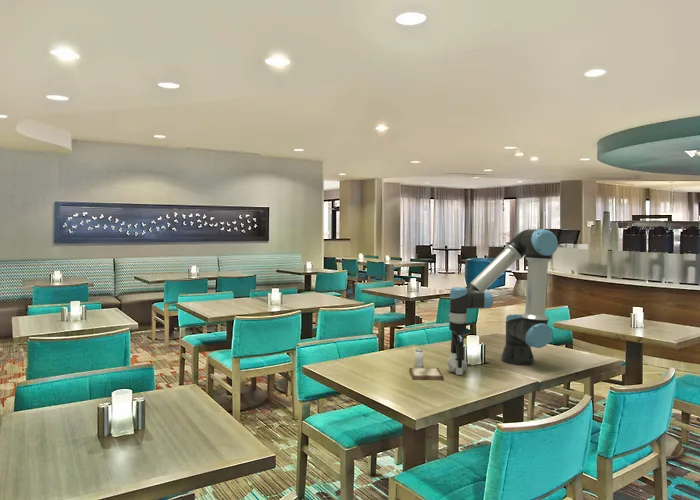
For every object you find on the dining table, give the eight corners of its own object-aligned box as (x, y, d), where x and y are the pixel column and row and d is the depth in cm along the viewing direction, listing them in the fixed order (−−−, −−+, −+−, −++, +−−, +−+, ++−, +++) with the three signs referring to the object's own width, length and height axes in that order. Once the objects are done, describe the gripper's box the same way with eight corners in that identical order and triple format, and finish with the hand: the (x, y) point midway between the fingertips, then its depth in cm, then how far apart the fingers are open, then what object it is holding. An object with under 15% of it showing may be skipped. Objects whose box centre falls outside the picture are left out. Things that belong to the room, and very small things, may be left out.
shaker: (422, 365, 239) (422, 348, 238) (423, 367, 235) (424, 350, 234) (414, 365, 239) (414, 348, 238) (415, 367, 235) (415, 350, 234)
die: (469, 372, 230) (459, 352, 234) (472, 367, 222) (461, 346, 226) (452, 379, 229) (442, 359, 233) (454, 374, 221) (444, 353, 225)
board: (438, 371, 228) (438, 367, 228) (443, 379, 215) (443, 376, 215) (409, 371, 228) (409, 367, 228) (413, 379, 215) (413, 375, 215)
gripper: (444, 317, 238) (443, 364, 238) (454, 326, 216) (453, 378, 217) (460, 317, 238) (459, 365, 238) (472, 326, 216) (470, 378, 217)
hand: (456, 371), depth 228 cm, fingers open, 9 cm apart
